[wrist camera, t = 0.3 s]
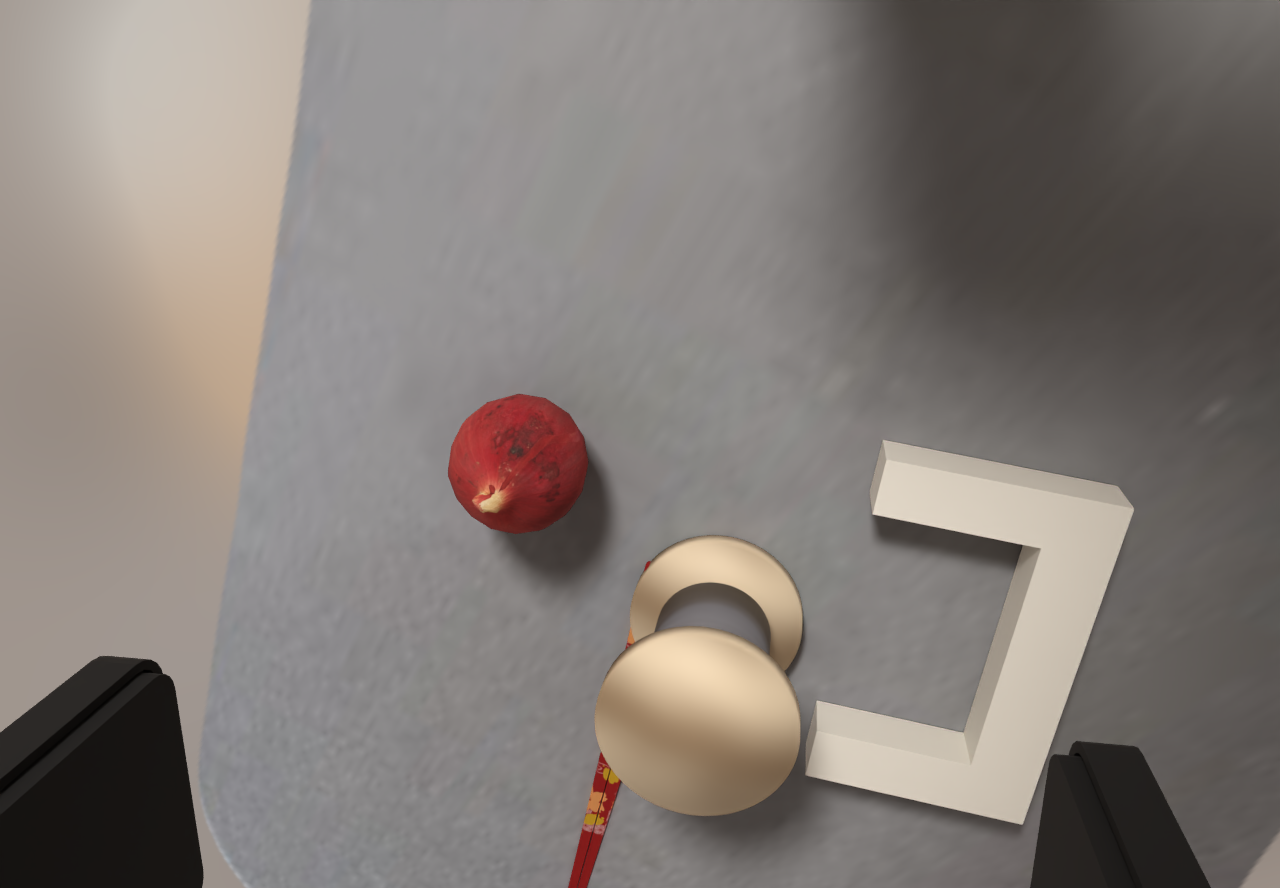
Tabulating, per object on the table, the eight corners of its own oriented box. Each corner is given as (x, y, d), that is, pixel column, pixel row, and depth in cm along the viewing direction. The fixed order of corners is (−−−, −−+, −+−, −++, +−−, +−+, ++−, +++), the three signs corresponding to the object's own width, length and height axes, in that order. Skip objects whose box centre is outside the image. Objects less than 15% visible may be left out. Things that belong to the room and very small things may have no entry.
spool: (647, 519, 48) (610, 619, 39) (818, 555, 48) (820, 665, 39) (622, 666, 51) (581, 790, 42) (783, 702, 50) (777, 835, 41)
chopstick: (552, 931, 58) (548, 945, 57) (648, 556, 49) (645, 565, 49) (586, 942, 58) (582, 955, 57) (688, 567, 49) (686, 576, 48)
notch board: (882, 439, 45) (886, 459, 43) (1117, 485, 44) (1134, 508, 42) (805, 743, 51) (805, 775, 49) (1012, 789, 50) (1022, 824, 48)
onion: (516, 350, 47) (460, 402, 39) (625, 419, 47) (590, 484, 39) (457, 451, 49) (393, 519, 41) (562, 517, 49) (517, 596, 41)
